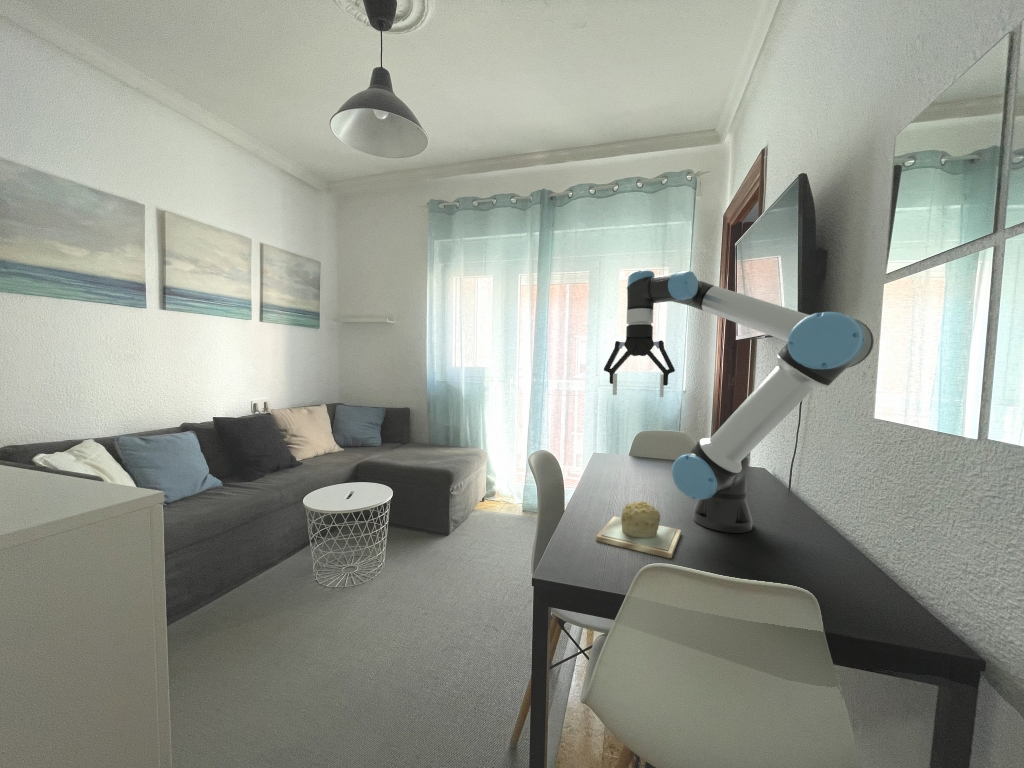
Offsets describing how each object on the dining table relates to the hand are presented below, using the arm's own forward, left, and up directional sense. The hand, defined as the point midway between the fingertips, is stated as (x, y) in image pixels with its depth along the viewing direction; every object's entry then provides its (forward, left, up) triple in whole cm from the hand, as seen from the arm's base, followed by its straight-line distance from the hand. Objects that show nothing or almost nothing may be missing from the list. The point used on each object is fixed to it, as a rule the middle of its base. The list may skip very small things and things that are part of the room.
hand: (637, 395), depth 120 cm
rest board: (-5, +17, -36) cm, 40 cm away
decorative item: (-5, +17, -35) cm, 39 cm away
